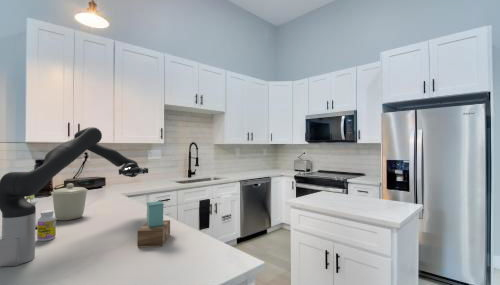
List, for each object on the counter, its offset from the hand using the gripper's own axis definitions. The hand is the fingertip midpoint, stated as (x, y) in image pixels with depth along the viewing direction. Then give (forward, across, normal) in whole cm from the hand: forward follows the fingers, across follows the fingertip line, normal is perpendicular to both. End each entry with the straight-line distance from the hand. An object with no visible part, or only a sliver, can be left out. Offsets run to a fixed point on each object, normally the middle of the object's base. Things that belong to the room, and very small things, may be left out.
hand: (135, 172), depth 126 cm
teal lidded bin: (+19, +6, +23) cm, 30 cm away
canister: (-46, -31, +30) cm, 63 cm away
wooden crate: (+19, +6, +30) cm, 36 cm away
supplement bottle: (-10, -36, +30) cm, 48 cm away
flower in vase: (-34, -47, +30) cm, 65 cm away
